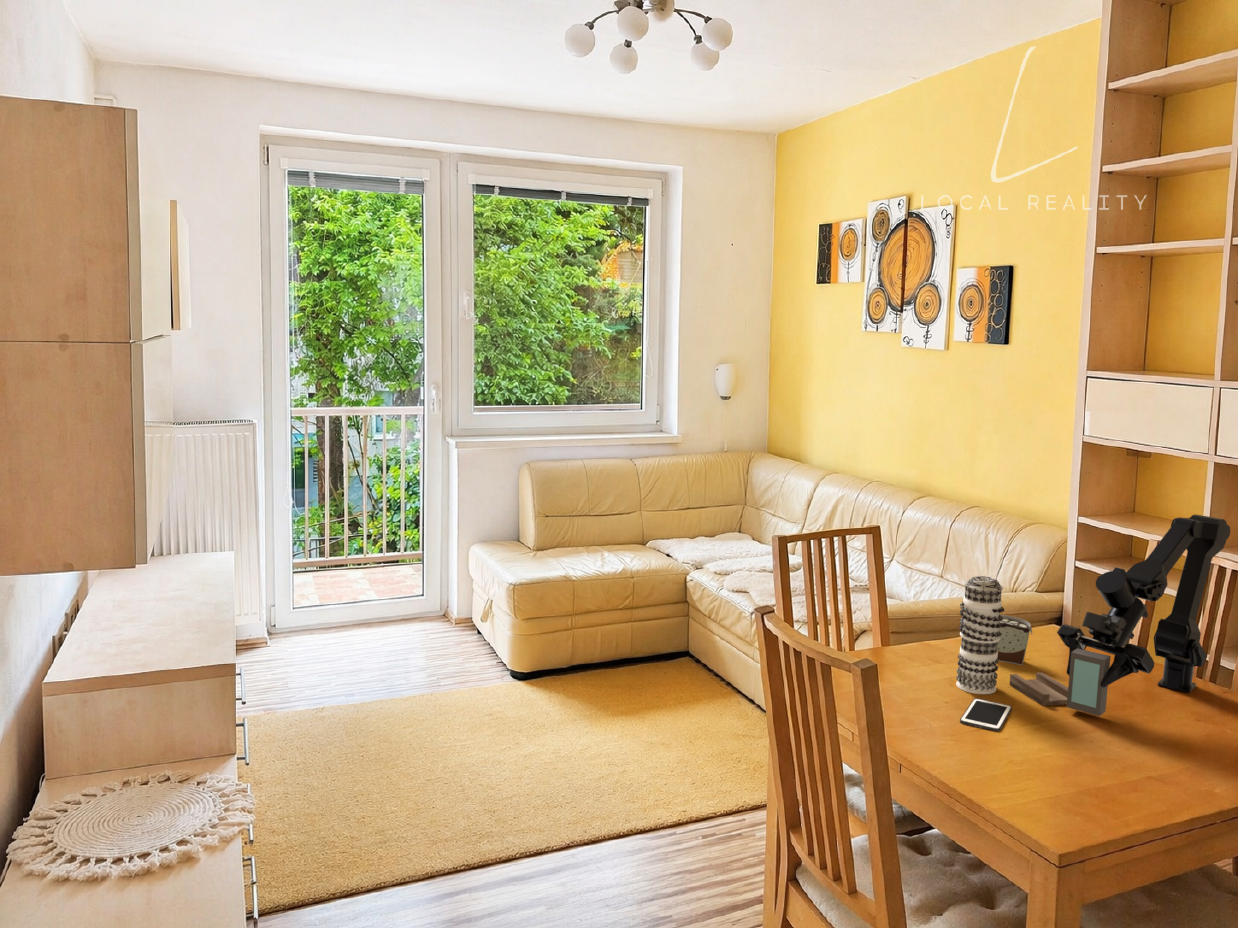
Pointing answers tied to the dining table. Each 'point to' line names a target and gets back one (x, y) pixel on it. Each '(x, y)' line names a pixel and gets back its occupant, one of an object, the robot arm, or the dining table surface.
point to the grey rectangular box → (1087, 682)
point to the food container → (1013, 639)
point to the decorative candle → (979, 635)
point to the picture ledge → (1041, 689)
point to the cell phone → (986, 714)
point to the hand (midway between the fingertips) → (1084, 680)
